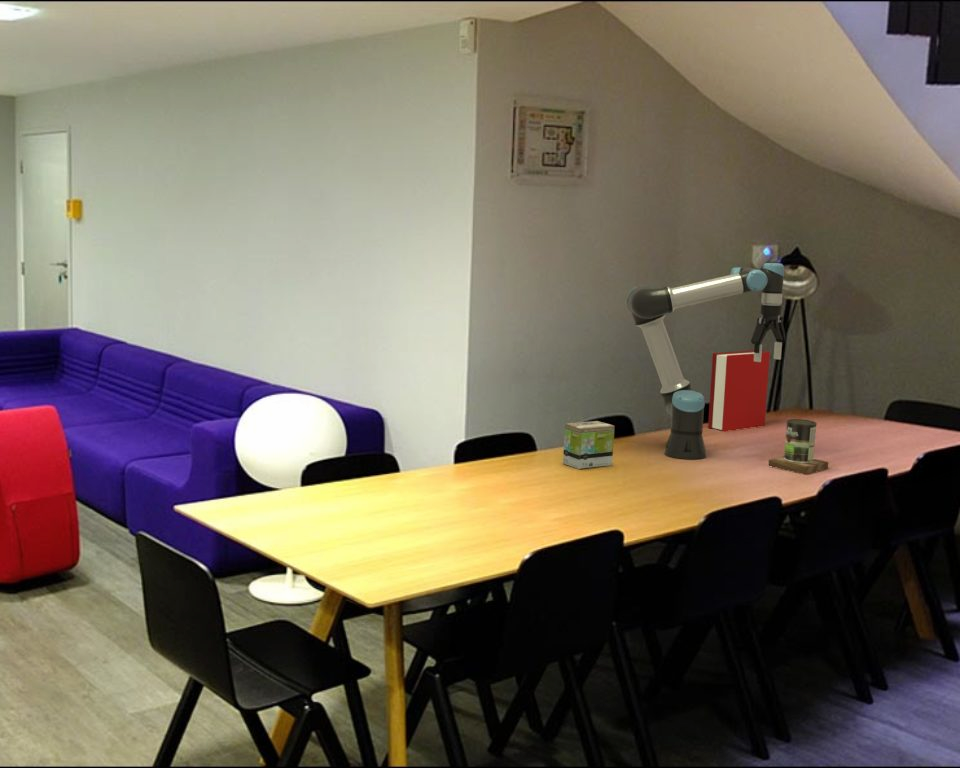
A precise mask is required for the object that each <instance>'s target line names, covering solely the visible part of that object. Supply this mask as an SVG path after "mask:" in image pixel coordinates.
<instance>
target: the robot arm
mask: <svg viewBox="0 0 960 768" xmlns="http://www.w3.org/2000/svg"><path fill="white" fill-rule="evenodd" d="M784 277H785V266H784V265H783V263H779V262H778V263H776V262H775V263H774V262H766V263H764V264H763V267H758V268H757V267H741V266H739V267H733V268H731V271H730V274H729V275H725V276H721V277H720V276H719V277H715V278H710V279H706V280H703V281H698V282H694V283H690V284H685V285H681V286H677V287H669V286H663V287H652V286H649V285H638V286H635V287H633V288H632V289H631V290H630V292H629V293H628V295H627V298H626V306H627V308H628V310H629V312H631V315H632V318H633V321H634V323H635V326H636V327H638V328H640V329H641V332H642V334H643V337H644V339H645V343H646V344H647V348H648V351H649V353H650V356H651V359H652V361H653V365H654V367H655V370H656V372H657V374H658V378H659V381H660V384H661V389H660V391H659V393H660V396H661V399H662V401H663V408H664V410H665V412H666V414H667V415H669V417H671V418H670V420H671V421H670V434H669V436H668V439H667V441H666V444H665V446H664V455H665V456H666V457H667V456H668V457H670V458H675V459H683V460H699V459H703V458H705V457H707V456H706V455H707V449H706V446H705V441H704V437H703V429H704V428H703V427H704V415H705V414H704V413H705V405H706V401H705V397H704V395H703V394H702V393H701V392H697V391H696V390H693V388H692V385H691V383H690V381H689V380H688V379H685V378H684V376H683V373H682V370H681V368H680V363H679V361H678V359H677V355H676V354H675V350H674V347H673V344H672V342H671V340H670V336H669V334H668V331H667V328H666V325H665V323H664V319H665V316H666V314H670V313H673V312H674V311H675V310H676V309H680V308H685V307H689V306H692V305H693V306H694V305H698V304H700V303H705V302H710V301H715V300H718V299H719V300H720V299H724V298H727V297H731V296H735V295H741V294H744V293H749V292H759V291H761V300H760V301H761V305H760V315H761V316H762V317H757V322H756V325H755V328H754V331H753V334H752V337H751V341H750V342H751V344H752V345H754V347H753V350H754V361H755V362H761V355H762V351H763V350H762V349H763V344H762V343H763V341H764V338H765V337H766V335H767V333H768V332H769V331H770V330H771V332H772V334H773V337H774V339H775V341H774V344H773V345H774V346H773V347H774V348H773V359H774V360H782V350H783V349H782V347H783V343H785V342H786V340H787V337H786V331H785V327H784V323H783V322H784V317H783V316H781V314H782V304H783V289H784Z"/></svg>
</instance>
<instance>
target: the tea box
mask: <svg viewBox="0 0 960 768" xmlns="http://www.w3.org/2000/svg"><path fill="white" fill-rule="evenodd" d="M564 426H565V427H564V439H563V455H562V464H563V465H565V466H566V465H567V466H569V467H572V468H575V469H577V470H582V469H587V468H598V467H611V466H612V465H613V458H614V457H613V455H614V444H615V443H614V442H615V440H614V439H615V425H613V424H610V423H606V422H603V421H602V422H601V421H599V420H594V421H583V422H571V423H565V424H564ZM610 465H611V466H610Z"/></svg>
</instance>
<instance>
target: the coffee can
mask: <svg viewBox="0 0 960 768" xmlns="http://www.w3.org/2000/svg"><path fill="white" fill-rule="evenodd" d="M816 431H817V422H815V421H814V420H809V419H802V418H792V419H791V418H790V419H787V420H786V431H785V444H784V453H783V456H784V460H786V461H789V462H793V463H803V464H804V463H805V464H806V463H812V462H813V459H814V454H815V443H816Z"/></svg>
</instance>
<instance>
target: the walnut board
mask: <svg viewBox="0 0 960 768" xmlns="http://www.w3.org/2000/svg"><path fill="white" fill-rule="evenodd" d="M768 465H769V466H772V467H771V468H773V467H777V468H781V469H780V470H782V469H785V470H784V471H786V470H789V471H788V472H791V471H794V472H793V473H796V472H799V473H798V474H800V473H803V474H802V475H805V474H806V475H809V473H810V474H813V473H812V472H814V473H817V472H816V471H818V472H821V471H825V470H828V469H829V461H825V460H822V459H821V460H820V459H817V458H813V462H812V463H806V464H805V463H804V464H803V463H793V462H789V461H786V460H784V455H783V456H779V457H774V458H771V459H768ZM768 465H767V466H768ZM777 468H776V469H777Z"/></svg>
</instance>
